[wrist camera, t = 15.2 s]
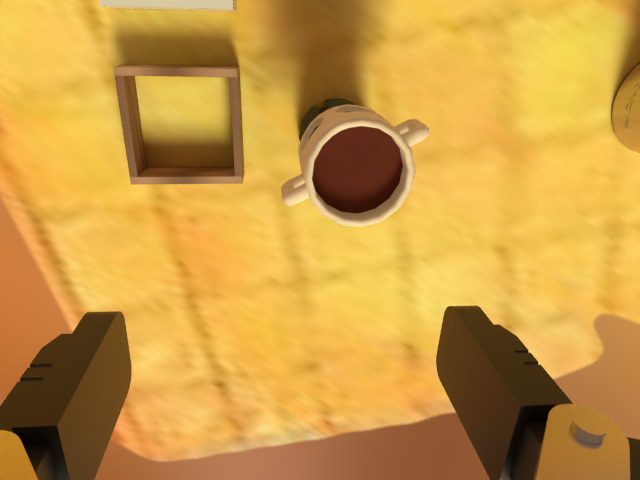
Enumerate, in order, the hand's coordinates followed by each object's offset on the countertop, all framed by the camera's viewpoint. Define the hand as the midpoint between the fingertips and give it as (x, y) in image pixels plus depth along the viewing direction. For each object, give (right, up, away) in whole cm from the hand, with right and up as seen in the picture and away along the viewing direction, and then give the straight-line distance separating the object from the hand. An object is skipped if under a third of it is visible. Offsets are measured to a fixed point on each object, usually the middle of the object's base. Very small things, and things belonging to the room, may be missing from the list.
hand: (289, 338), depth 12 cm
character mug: (+2, +12, +29) cm, 32 cm away
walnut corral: (-10, +12, +27) cm, 32 cm away
